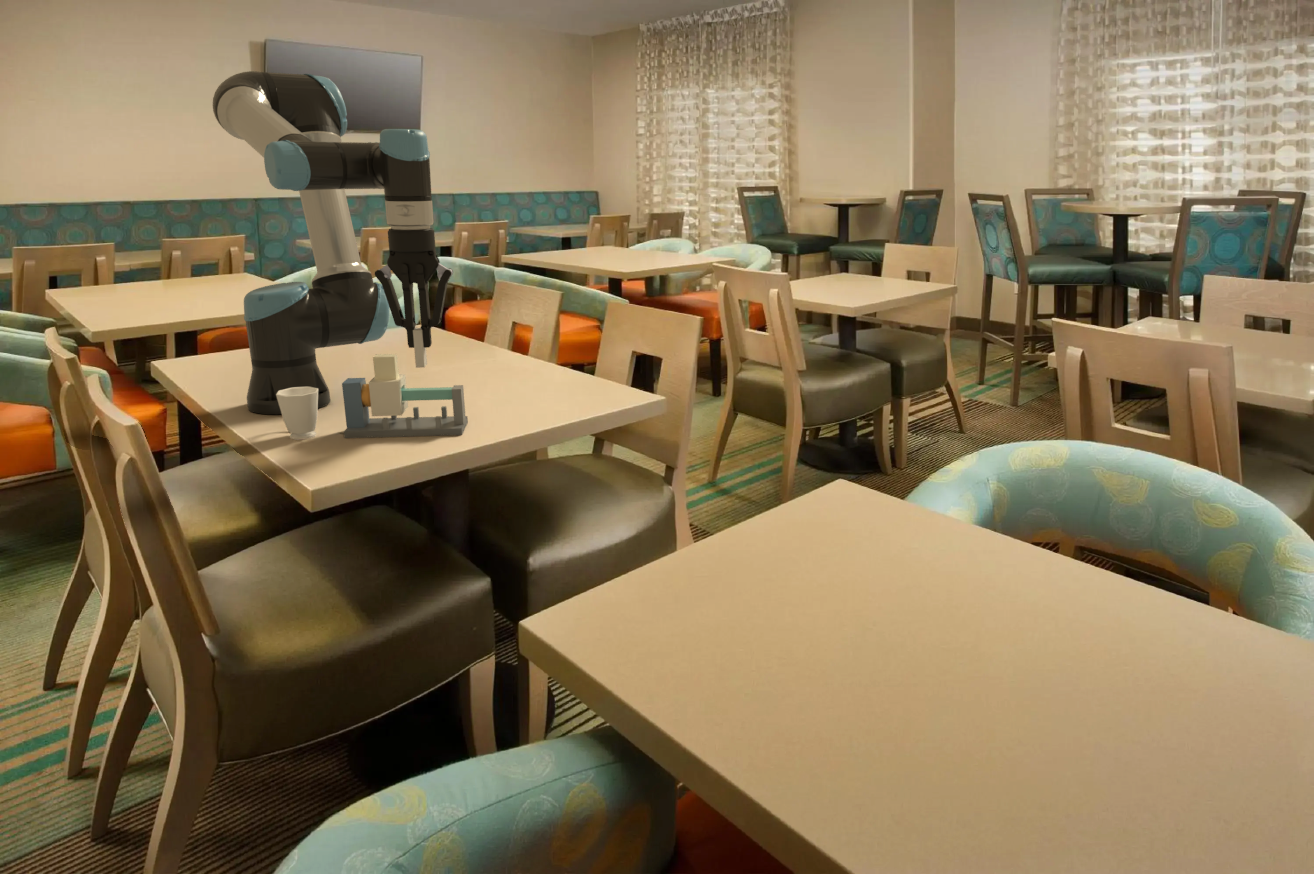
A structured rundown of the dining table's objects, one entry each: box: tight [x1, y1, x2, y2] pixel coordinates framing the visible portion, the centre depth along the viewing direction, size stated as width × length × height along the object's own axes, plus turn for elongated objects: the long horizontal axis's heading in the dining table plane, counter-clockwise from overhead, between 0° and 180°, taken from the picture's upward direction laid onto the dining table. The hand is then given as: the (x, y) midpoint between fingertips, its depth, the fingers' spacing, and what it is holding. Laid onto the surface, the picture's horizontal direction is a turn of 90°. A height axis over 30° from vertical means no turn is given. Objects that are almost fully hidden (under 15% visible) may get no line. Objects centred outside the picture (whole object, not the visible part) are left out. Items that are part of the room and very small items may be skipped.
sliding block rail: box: [341, 377, 469, 439], centre depth 154 cm, size 20×8×9 cm, turn 95°
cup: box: [276, 387, 319, 441], centre depth 152 cm, size 7×10×8 cm
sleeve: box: [368, 353, 409, 417], centre depth 153 cm, size 5×6×10 cm
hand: (421, 365), depth 153 cm, fingers closed
